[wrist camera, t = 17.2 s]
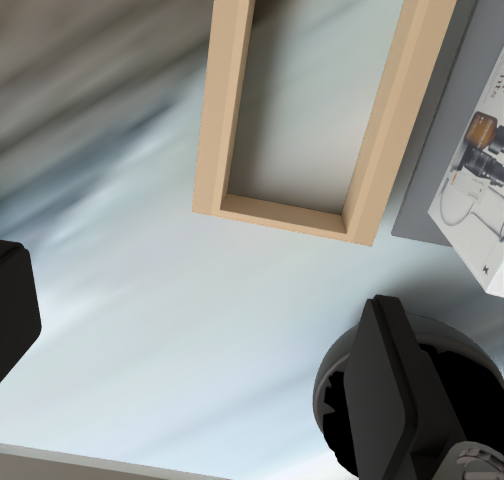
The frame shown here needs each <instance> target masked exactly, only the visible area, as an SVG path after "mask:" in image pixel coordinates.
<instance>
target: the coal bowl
mask: <svg viewBox="0 0 504 480" xmlns="http://www.w3.org/2000/svg"><path fill="white" fill-rule="evenodd" d="M406 316H407V318H408V321H409V323H410V325H411V328H412V330H413V332H414V335H415V337H416V339H417V342H418V344H419V346H420V349H421V350H423V351H426V352H427V353H428V354H429V356H430V357H431V360H432V362H433V364H434V366H435V369H436V371H437V373H438V375H439V378H440V380H441V382H442V384H443V387H444V389H445V391H446V393H447V396H448V398H449V400H450V402H451V405H452V407H453V409H454V411H455V413H456V416H457V418H458V420H459V422H460V425H461V427H462V429H463V431H464V434H465V436H466V438H467V440H468V441H469V442H477V443H480V444H483V445H486V446H488V447H490V448H492V449H494V450H496V451H497V452H499V453H501V454H502V455H503V456H504V379H503V377H502V374H501V372H500V371H499V369H498V367H497V366H496V365H495V363H494V362H493V361H492V360H491V358H490V357H489V356H488V355H487V354H486V353H485V352H484V351H483V350H482V349H481V348H480V347H479V346H478V345H477V344H476V343H475V342H473V341H472V340H471V339H469V338H468V337H467V336H465V335H464V334H462V333H461V332H459V331H457V330H456V329H454V328H452V327H450V326H448V325H446V324H444V323H442V322H439V321H436V320H434V319H430V318H426V317H423V316H417V315H410V314H406ZM358 326H359V324H358V325H356V326H354V327H352V328H351V329H349V330H348V331H346V332H345V333H344V334H343V335H342V336H341V337H340V338H339V339H338V340H337V341H336V342H335V343H334V344H333V345H332V346H331V348H330V349H329V350H328V352H327V354H326V355H325V357H324V359H323V361H322V363H321V365H320V367H319V370H318V373H317V376H316V379H315V384H314V390H313V412H314V416H315V419H316V422H317V425H318V426H319V428H320V430H321V432H322V433H323V435H324V438H325V440H326V442H327V444H328V446H329V448H330V449H331V450H332V451H334V452H335V456H336V458H337V461H338V462H339V464H341V466H343V467H344V468H345V469H346V470H347V471H349V472H350V473H351V474H353V475H355V476H357V477H358V478H359V476H358V469H357V463H356V457H355V451H354V444H353V438H352V432H351V426H350V419H349V413H348V407H347V401H346V394H345V388H344V372H345V368H346V365H347V362H348V359H349V355H350V352H351V349H352V346H353V342H354V339H355V336H356V333H357V329H358Z"/></svg>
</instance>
